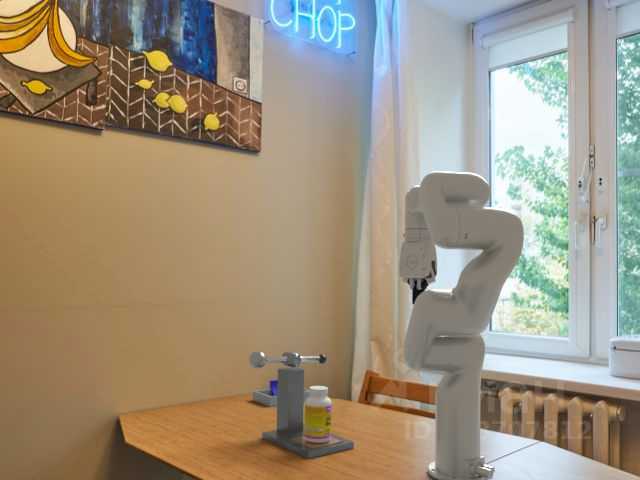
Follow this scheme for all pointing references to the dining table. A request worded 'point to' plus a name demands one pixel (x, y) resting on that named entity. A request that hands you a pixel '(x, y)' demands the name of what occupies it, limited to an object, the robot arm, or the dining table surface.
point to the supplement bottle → (318, 415)
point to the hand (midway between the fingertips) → (418, 304)
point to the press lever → (283, 359)
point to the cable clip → (274, 387)
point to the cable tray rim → (271, 397)
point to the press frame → (298, 419)
